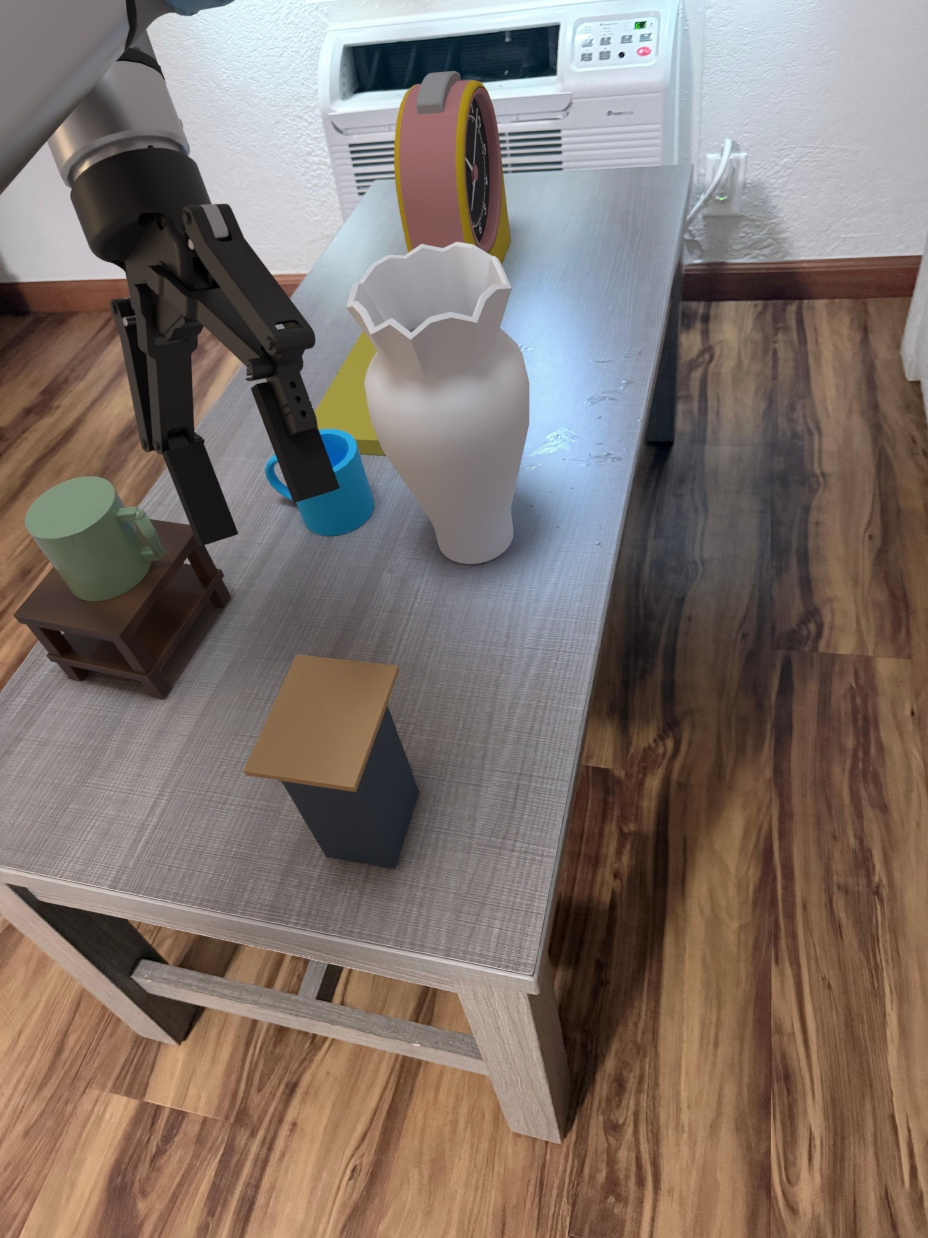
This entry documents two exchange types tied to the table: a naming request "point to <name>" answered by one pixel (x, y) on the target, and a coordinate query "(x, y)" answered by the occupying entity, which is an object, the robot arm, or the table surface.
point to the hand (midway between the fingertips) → (263, 520)
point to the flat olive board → (351, 399)
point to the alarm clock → (450, 166)
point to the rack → (128, 615)
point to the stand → (340, 757)
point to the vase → (447, 389)
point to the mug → (339, 506)
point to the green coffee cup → (93, 537)
